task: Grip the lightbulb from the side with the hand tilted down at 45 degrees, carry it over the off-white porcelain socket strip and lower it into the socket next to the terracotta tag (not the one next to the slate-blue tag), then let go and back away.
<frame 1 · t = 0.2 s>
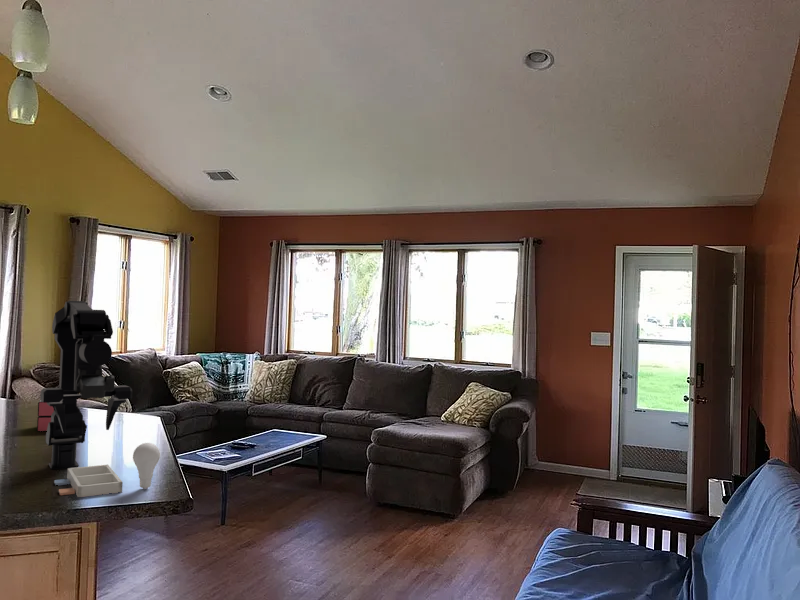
hand: (86, 431, 153), 14 cm above the kitchen counter, tool pointing down, fingers open, 9 cm apart
lightbulb: (145, 489, 159), on the kitchen counter
socket board: (93, 484, 160), on the kitchen counter
puzzle cube: (55, 429, 223), on the kitchen counter
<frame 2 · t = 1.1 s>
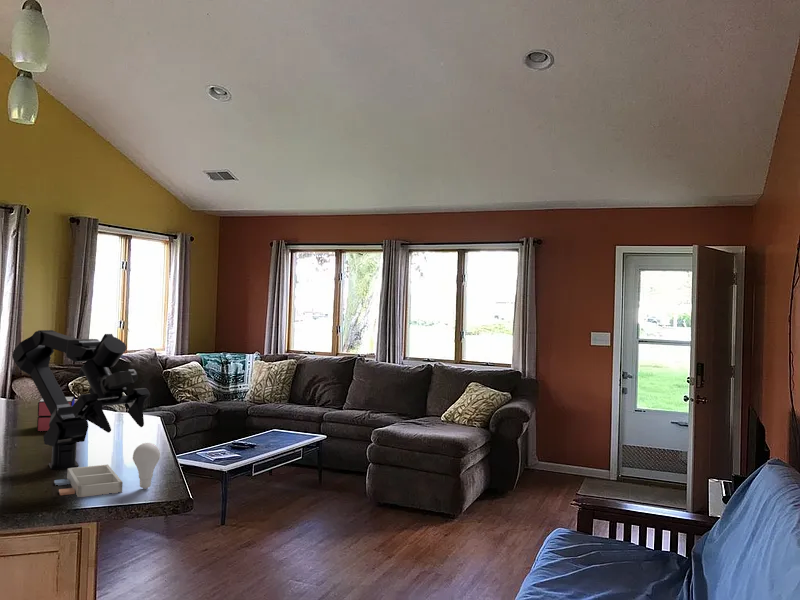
hand: (126, 428, 163), 13 cm above the kitchen counter, tool tilted 45°, fingers open, 9 cm apart
nothing on the kitchen counter moved.
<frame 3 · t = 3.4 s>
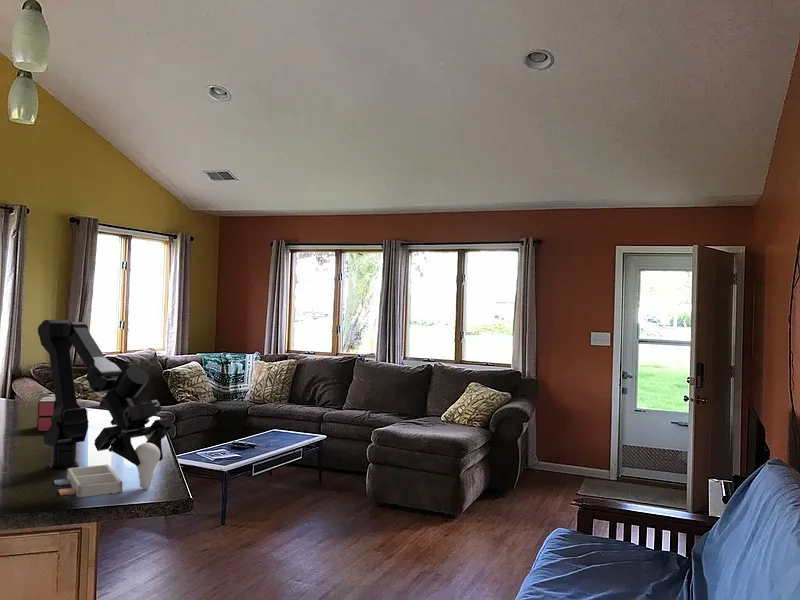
hand: (150, 462, 158), 7 cm above the kitchen counter, tool tilted 45°, fingers closed on lightbulb, 6 cm apart
lightbulb: (145, 489, 159), on the kitchen counter, touching gripper
everything else where it was.
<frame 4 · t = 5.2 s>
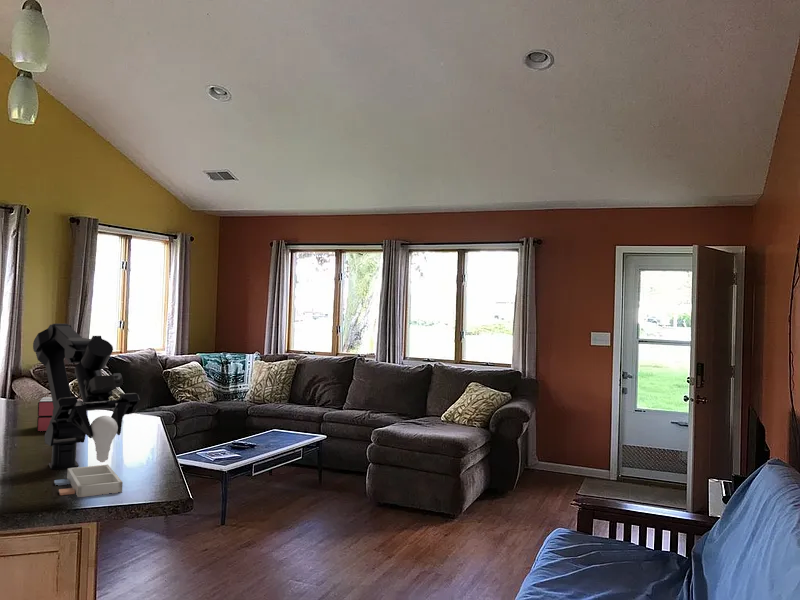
hand: (105, 435, 156), 13 cm above the kitchen counter, tool tilted 45°, fingers closed on lightbulb, 6 cm apart
lightbulb: (102, 463, 157), point 6 cm above the kitchen counter, touching gripper
everything else where it was.
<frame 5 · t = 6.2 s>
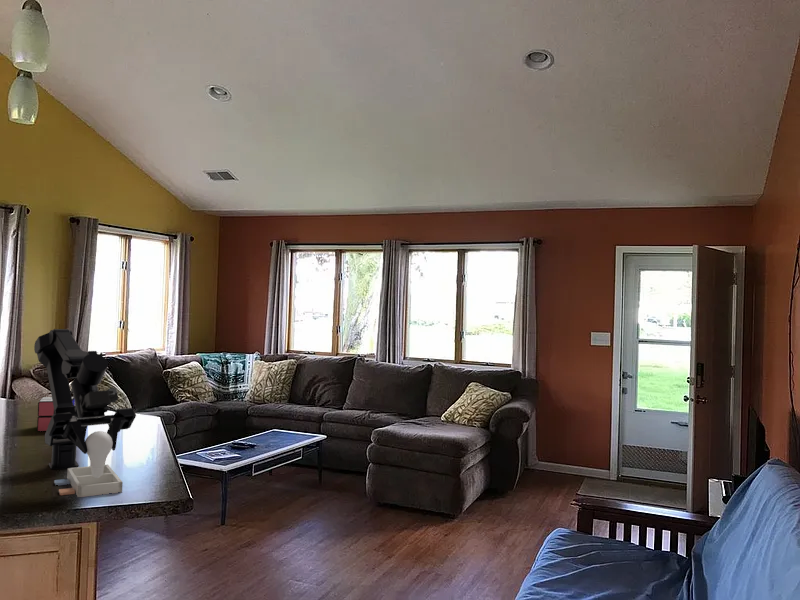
hand: (100, 451, 156), 9 cm above the kitchen counter, tool tilted 45°, fingers closed on lightbulb, 6 cm apart
lightbulb: (97, 478, 157), point 2 cm above the kitchen counter, touching gripper
everything else where it was.
when the fingers open (8 cm above the kitchen counter, at t = 7.0 s): lightbulb drops 1 cm, resting in socket board.
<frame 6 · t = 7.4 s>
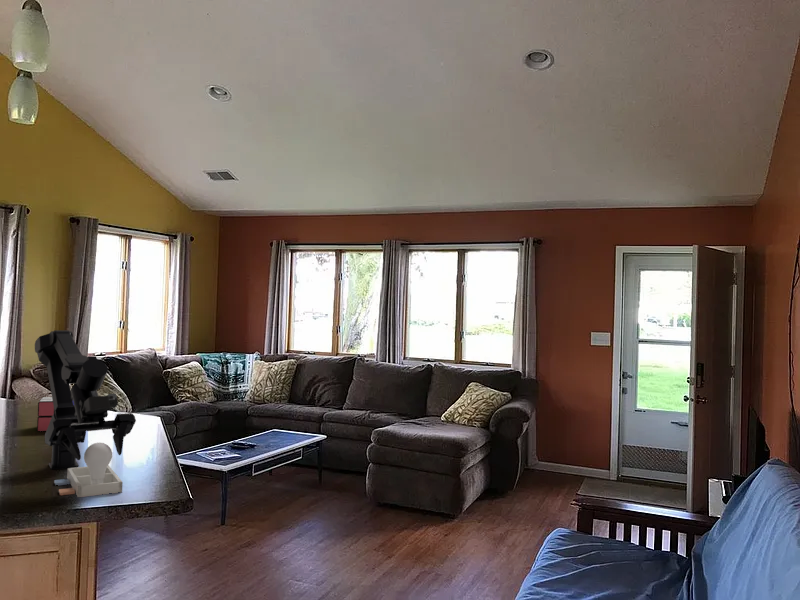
hand: (100, 456, 156), 8 cm above the kitchen counter, tool tilted 45°, fingers open, 9 cm apart
lightbulb: (96, 490, 157), resting in socket board
everything else where it was.
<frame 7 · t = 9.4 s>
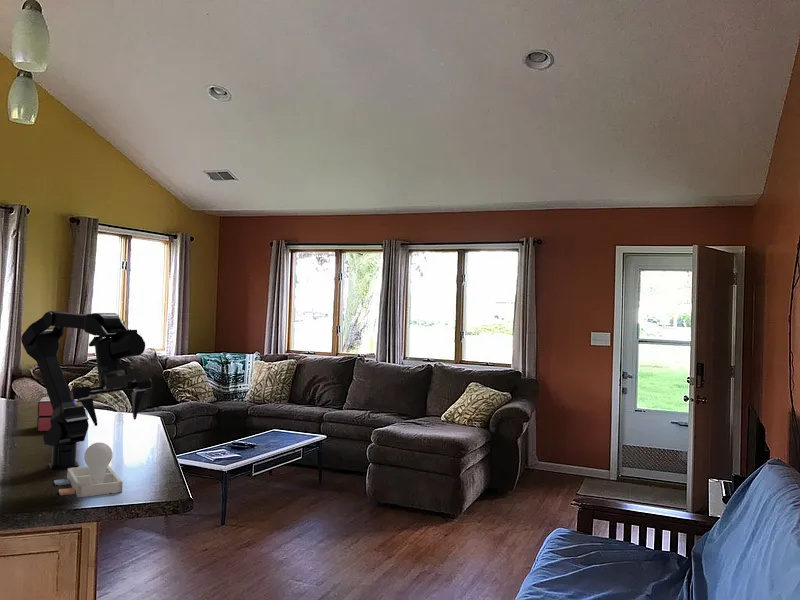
hand: (115, 422, 168), 14 cm above the kitchen counter, tool pointing down, fingers open, 9 cm apart
nothing on the kitchen counter moved.
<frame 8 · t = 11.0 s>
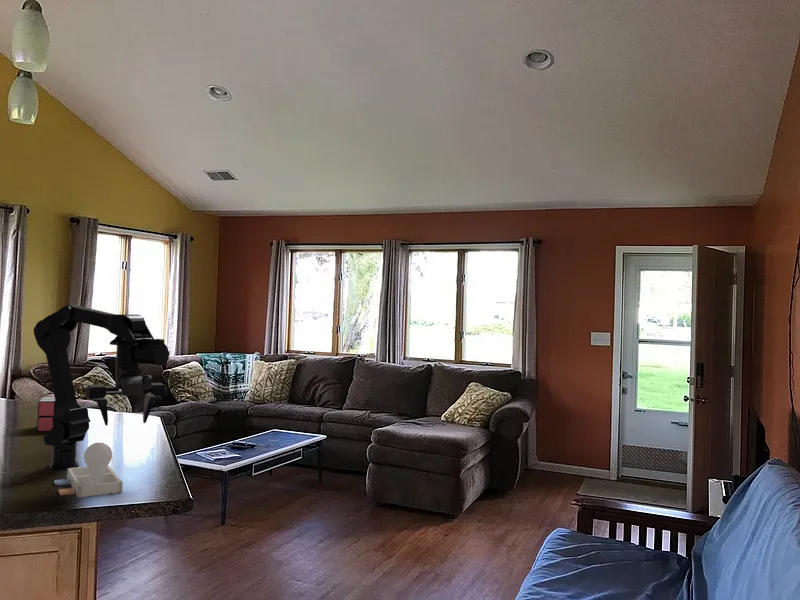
hand: (125, 424, 170), 13 cm above the kitchen counter, tool pointing down, fingers open, 9 cm apart
nothing on the kitchen counter moved.
at the end: lightbulb 0.2 cm from the target spot on the socket board, point 0.0 cm above the socket board's base; lightbulb tilted 0°; the gripper is holding nothing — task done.
